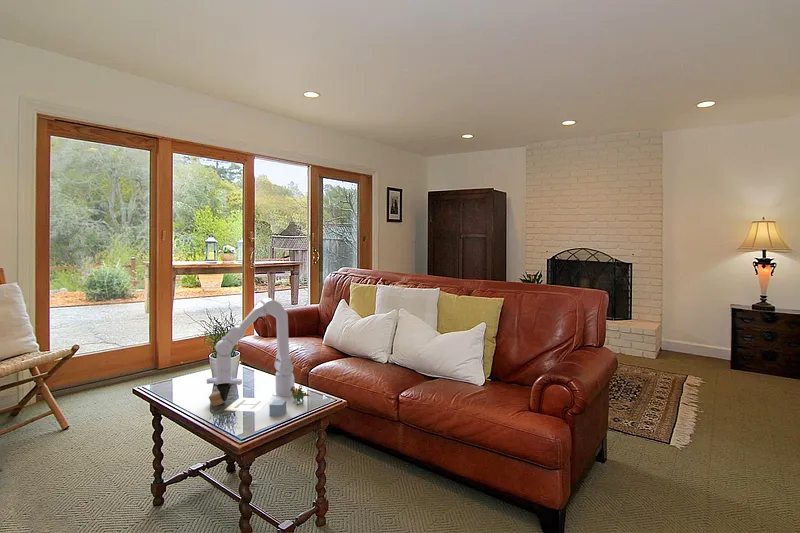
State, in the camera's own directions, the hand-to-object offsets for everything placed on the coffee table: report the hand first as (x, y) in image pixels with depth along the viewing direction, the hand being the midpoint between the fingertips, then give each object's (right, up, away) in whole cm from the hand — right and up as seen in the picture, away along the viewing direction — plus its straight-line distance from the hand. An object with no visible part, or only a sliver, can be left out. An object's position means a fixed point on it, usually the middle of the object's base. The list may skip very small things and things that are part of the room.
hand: (224, 400), depth 187 cm
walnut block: (-2, -1, 0) cm, 2 cm away
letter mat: (+10, -2, -1) cm, 10 cm away
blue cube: (+25, -3, -10) cm, 28 cm away
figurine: (+32, -2, +1) cm, 32 cm away
